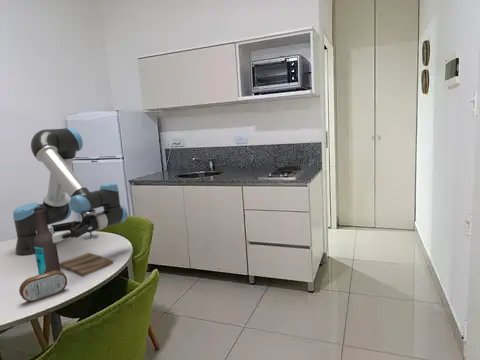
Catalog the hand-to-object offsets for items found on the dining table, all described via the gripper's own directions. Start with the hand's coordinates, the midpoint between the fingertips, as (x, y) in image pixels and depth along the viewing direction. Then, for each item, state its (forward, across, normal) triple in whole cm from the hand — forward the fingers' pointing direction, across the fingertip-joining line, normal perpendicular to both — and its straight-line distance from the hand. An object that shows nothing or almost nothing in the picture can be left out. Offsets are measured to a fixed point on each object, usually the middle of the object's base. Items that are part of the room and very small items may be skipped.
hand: (44, 236), depth 135 cm
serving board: (-15, 0, -18) cm, 23 cm away
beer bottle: (0, 0, -18) cm, 18 cm away
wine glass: (-38, +36, -18) cm, 56 cm away
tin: (+8, -13, -18) cm, 24 cm away
